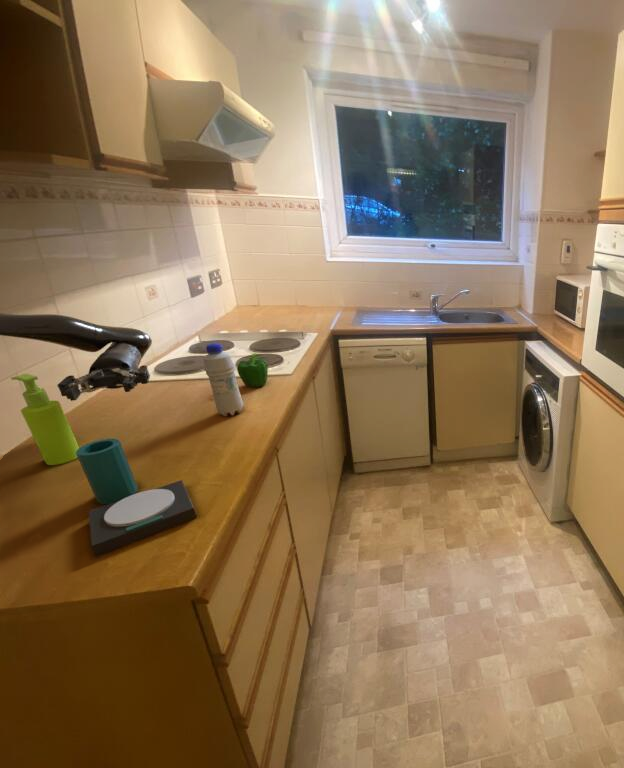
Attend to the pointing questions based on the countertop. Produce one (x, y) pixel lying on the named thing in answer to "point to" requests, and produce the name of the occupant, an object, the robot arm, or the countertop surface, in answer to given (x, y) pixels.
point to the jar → (107, 470)
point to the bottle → (222, 380)
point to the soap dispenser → (47, 424)
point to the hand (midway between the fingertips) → (99, 391)
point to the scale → (139, 516)
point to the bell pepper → (253, 371)
